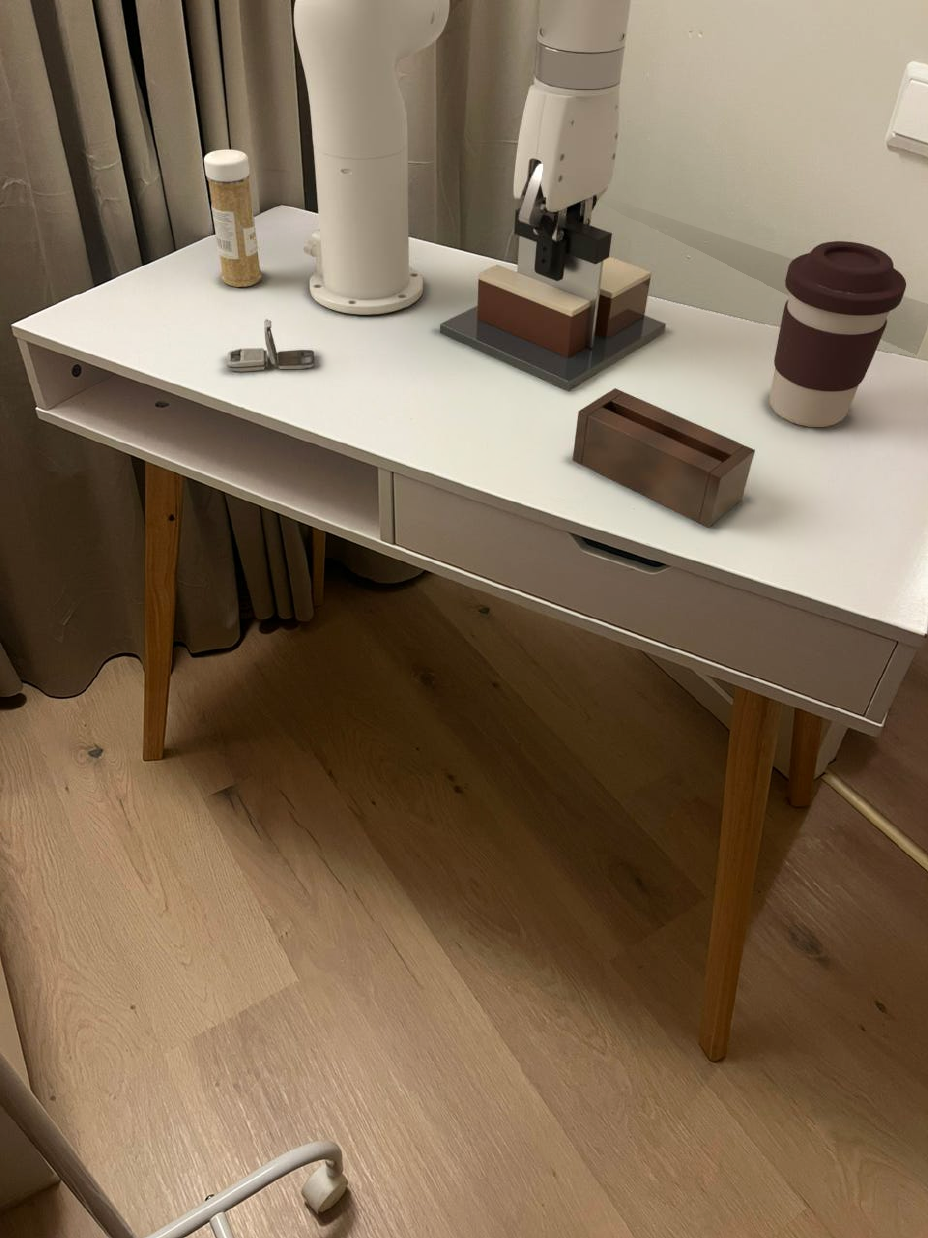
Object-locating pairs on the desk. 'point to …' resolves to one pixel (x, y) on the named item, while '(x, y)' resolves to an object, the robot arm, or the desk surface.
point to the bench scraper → (570, 261)
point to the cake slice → (533, 310)
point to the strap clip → (258, 356)
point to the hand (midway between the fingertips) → (557, 270)
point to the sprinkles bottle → (233, 216)
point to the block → (662, 456)
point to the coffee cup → (831, 329)
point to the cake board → (613, 340)
